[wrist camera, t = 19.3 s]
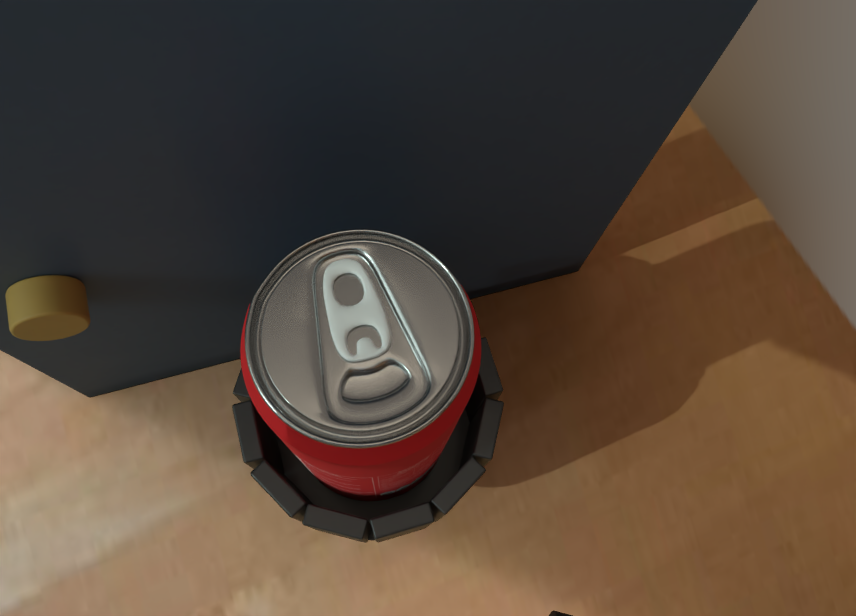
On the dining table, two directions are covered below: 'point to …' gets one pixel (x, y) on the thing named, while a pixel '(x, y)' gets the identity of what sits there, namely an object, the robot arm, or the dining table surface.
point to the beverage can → (361, 359)
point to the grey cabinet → (314, 175)
